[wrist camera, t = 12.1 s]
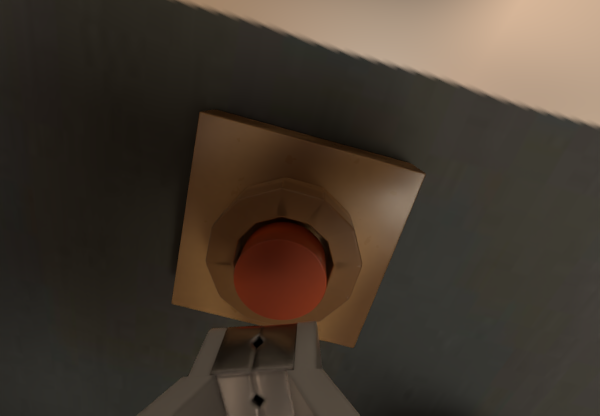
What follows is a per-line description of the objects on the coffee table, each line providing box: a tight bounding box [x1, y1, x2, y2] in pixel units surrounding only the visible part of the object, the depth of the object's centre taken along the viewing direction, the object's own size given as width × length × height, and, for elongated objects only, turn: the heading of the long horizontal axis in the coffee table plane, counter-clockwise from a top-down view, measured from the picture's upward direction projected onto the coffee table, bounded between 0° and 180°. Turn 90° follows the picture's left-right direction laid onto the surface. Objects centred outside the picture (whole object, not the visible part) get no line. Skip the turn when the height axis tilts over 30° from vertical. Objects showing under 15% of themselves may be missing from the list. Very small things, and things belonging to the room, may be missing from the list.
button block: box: [172, 109, 426, 348], centre depth 15 cm, size 10×10×4 cm
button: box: [233, 222, 327, 320], centre depth 13 cm, size 4×4×2 cm
